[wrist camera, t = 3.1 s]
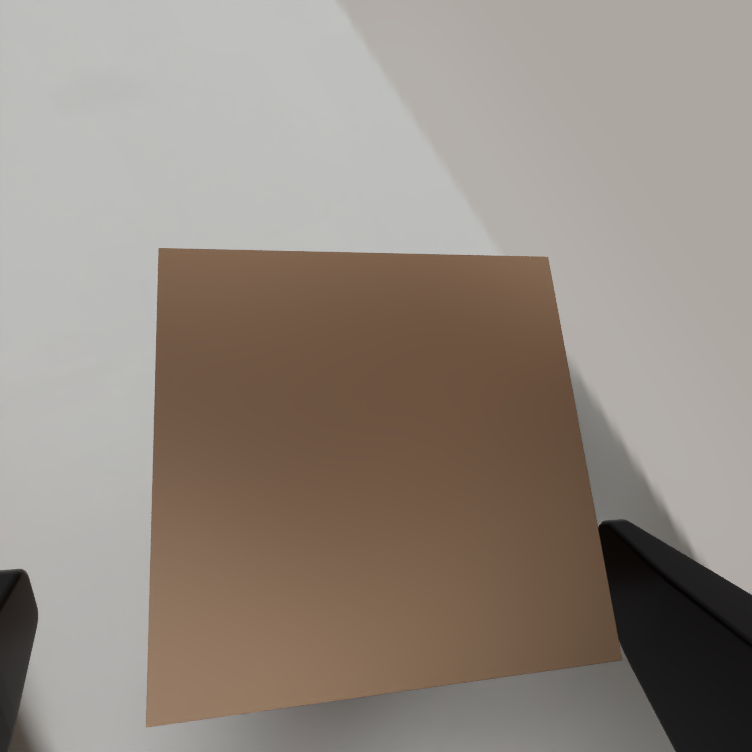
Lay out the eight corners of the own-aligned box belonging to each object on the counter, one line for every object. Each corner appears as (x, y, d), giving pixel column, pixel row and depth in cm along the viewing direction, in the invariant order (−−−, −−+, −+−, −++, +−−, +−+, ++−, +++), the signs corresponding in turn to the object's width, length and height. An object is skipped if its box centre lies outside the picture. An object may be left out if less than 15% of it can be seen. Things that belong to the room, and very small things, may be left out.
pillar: (377, 590, 18) (622, 660, 6) (224, 606, 17) (144, 727, 5) (366, 443, 19) (547, 256, 7) (222, 450, 18) (158, 248, 6)
